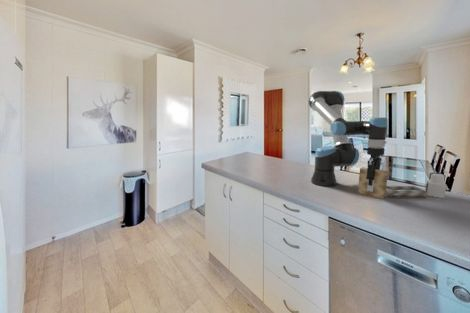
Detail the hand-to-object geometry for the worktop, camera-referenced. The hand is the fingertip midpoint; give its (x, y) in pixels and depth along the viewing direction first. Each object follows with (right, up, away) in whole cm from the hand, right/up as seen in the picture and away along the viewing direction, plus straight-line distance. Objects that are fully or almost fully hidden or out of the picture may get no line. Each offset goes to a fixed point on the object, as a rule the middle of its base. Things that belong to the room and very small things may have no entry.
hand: (371, 189), depth 116 cm
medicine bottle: (+33, -3, -1) cm, 33 cm away
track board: (+16, -3, 0) cm, 16 cm away
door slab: (0, -3, 0) cm, 3 cm away
